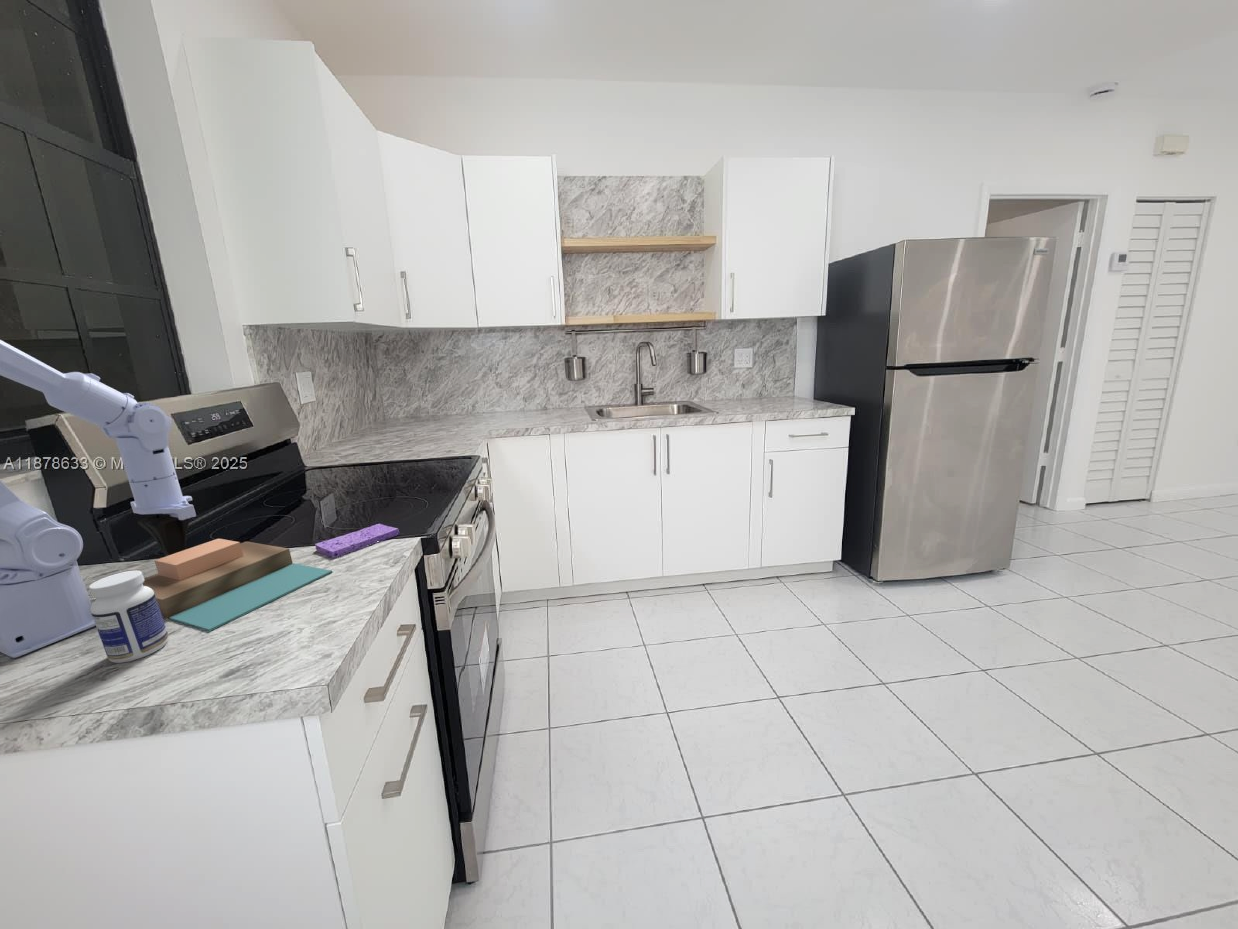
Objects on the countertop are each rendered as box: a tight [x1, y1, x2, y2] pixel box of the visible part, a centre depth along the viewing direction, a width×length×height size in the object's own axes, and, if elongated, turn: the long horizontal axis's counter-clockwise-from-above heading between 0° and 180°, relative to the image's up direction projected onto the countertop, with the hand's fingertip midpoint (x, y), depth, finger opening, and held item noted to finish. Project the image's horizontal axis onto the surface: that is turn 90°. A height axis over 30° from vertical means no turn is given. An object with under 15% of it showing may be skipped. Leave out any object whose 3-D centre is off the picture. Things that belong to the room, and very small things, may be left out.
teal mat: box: [168, 562, 333, 632], centre depth 76 cm, size 18×10×1 cm, turn 156°
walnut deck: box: [143, 541, 293, 620], centre depth 81 cm, size 18×12×3 cm, turn 156°
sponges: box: [314, 523, 400, 559], centre depth 95 cm, size 7×13×2 cm, turn 144°
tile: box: [153, 538, 243, 580], centre depth 81 cm, size 9×6×2 cm, turn 156°
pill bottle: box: [88, 570, 170, 664], centre depth 62 cm, size 6×6×10 cm
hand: (176, 555), depth 84 cm, fingers closed
